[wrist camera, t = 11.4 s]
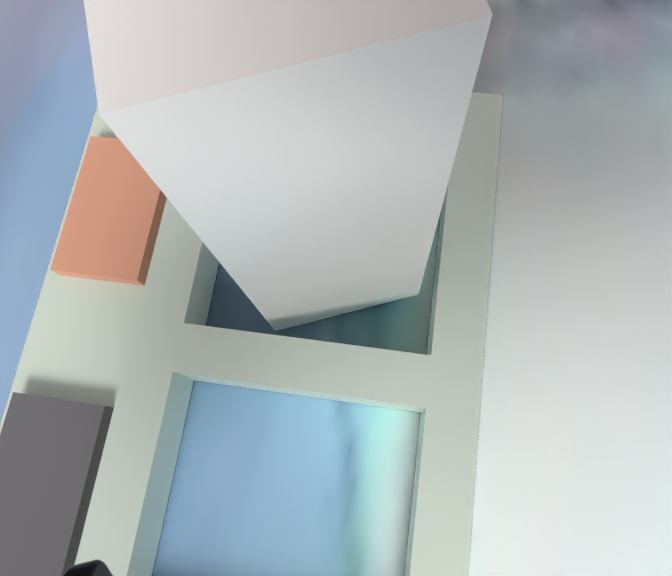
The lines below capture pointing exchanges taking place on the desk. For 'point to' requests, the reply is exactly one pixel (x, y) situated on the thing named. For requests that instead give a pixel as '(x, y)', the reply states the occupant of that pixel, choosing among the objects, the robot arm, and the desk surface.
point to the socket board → (217, 369)
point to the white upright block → (296, 133)
